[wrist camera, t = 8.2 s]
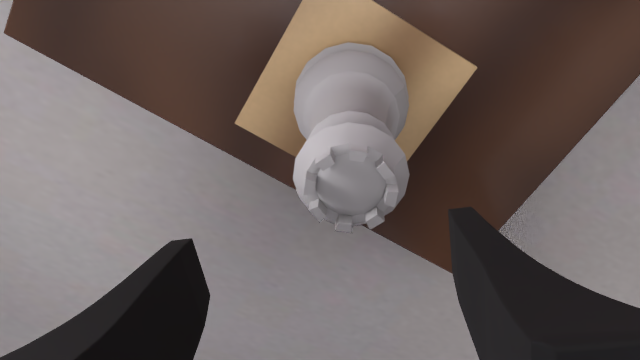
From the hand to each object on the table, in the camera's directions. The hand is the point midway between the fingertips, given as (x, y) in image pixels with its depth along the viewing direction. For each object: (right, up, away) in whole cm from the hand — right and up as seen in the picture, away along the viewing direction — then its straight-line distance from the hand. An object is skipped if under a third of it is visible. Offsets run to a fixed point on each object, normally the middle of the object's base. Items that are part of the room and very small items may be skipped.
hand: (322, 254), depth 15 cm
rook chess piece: (+1, +5, +7) cm, 9 cm away
